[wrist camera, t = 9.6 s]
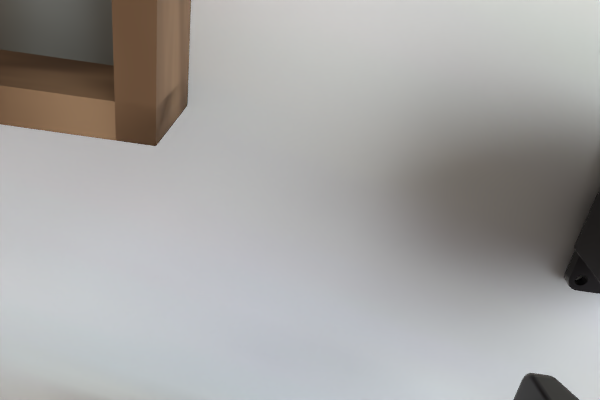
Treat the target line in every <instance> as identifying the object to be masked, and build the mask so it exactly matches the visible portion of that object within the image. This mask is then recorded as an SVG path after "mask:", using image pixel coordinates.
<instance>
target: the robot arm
mask: <svg viewBox="0 0 600 400" xmlns="http://www.w3.org/2000/svg"><path fill="white" fill-rule="evenodd" d="M574 248H575V252H574V254H573V256H572V259H571V261H570V263H569V265H568V268H567V270H566V272H565V276H564V277H565V280H566V282H567V283H568V285H569V286H570V287H571V288H572V289H574V290H578V291H585V292H592V293H600V192H599V193H598V194H597V196H596V198H595V201H594V203H593V205H592V208H591V210H590V212H589V214H588V217H587V219H586V221H585V223H584V226H583V228H582V230H581V232H580V235H579V237H578V239H577V242H576V244H575V247H574ZM580 275H583V277H582V278H580V279H578V280H575V279H576V278H577V277H578V276H580ZM513 400H579V399H578V398H577V397H576V396H575V395H573V394H572V393H571V392H570V391H569V390H568V389H567V388H566V387H564V386H563V385H562V384H561V383H560V382H559V381H558V380H557V379H555V378H554V377H552V376H549V375H543V374H535V373H529V374H526V375H525V376H524V378H523V379H522V382H521V384H520V386H519V388H518V391H517V393H516V395H515V397H514V399H513Z"/></svg>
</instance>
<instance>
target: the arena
mask: <svg viewBox="0 0 600 400" xmlns="http://www.w3.org/2000/svg"><path fill="white" fill-rule="evenodd" d="M190 12H191V0H0V124H3V125H10V126H17V127H24V128H31V129H38V130H45V131H53V132H60V133H67V134H74V135H81V136H88V137H95V138H102V139H110V140H117V141H124V142H131V143H138V144H145V145H152V146H156V145H157V144H158V143H159V141H160V140H161V139H162V137H163V136H164V135H165V134H166V132H167V131H168V130H169V128H170V127H171V126H172V125H173V123H174V122H175V121H176V119H177V118H178V117H179V116H180V114H181V113H182V112H183V110H184V109H185V108H186V106H187V97H188V69H189V41H190Z"/></svg>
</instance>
